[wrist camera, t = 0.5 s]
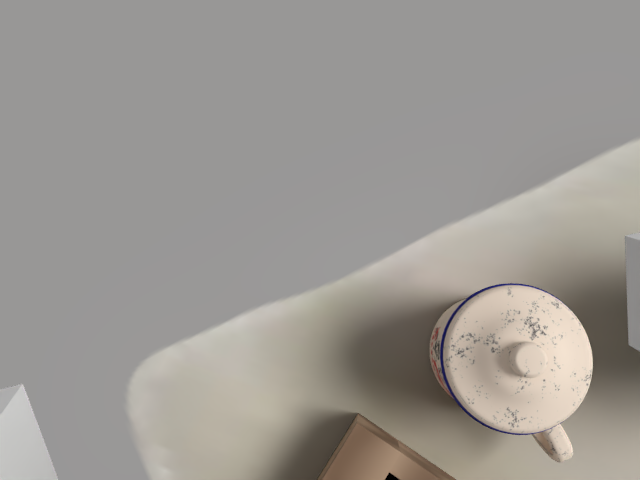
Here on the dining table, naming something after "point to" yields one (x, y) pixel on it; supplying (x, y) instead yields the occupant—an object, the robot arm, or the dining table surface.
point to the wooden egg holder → (377, 457)
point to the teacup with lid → (514, 362)
